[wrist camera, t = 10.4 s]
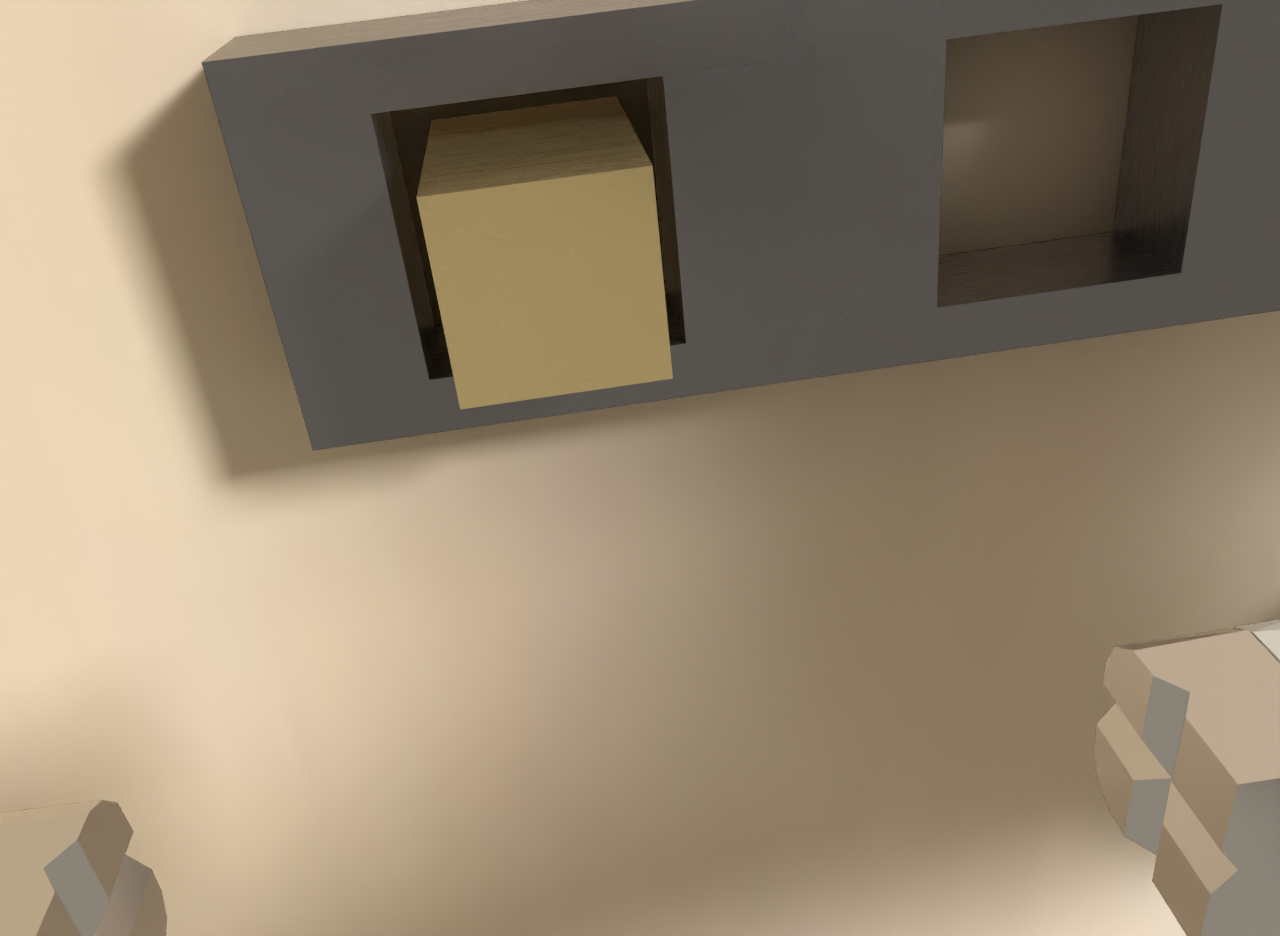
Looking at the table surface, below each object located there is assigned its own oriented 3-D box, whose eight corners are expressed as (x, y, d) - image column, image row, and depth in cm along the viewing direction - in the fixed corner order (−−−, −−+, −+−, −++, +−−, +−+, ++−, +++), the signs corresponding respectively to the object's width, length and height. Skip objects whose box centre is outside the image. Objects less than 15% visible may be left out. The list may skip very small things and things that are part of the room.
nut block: (616, 96, 24) (653, 165, 19) (635, 271, 26) (673, 378, 21) (431, 120, 24) (416, 197, 18) (465, 294, 26) (460, 409, 20)
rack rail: (1275, -93, 23) (1372, -85, 21) (1213, 265, 27) (1290, 308, 25) (234, 36, 22) (201, 62, 20) (330, 390, 26) (313, 450, 24)
